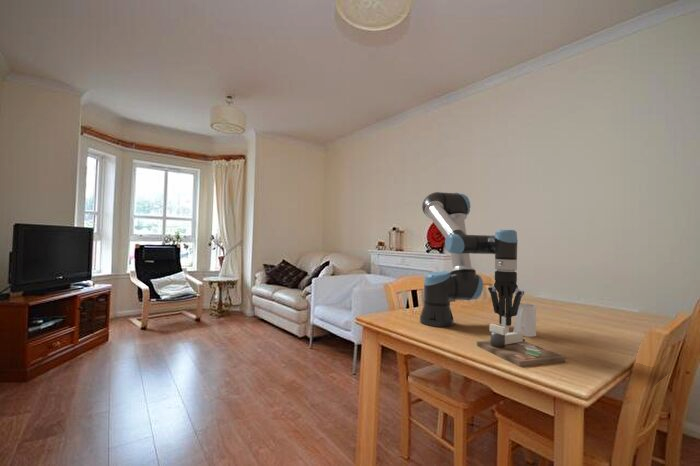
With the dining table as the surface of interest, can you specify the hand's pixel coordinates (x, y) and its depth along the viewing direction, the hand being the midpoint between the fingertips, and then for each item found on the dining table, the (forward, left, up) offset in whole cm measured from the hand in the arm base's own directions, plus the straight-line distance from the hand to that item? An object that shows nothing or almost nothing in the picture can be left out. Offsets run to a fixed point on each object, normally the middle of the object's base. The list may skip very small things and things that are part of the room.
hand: (505, 333), depth 121 cm
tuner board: (+10, -3, -4) cm, 11 cm away
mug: (-8, +17, -4) cm, 19 cm away
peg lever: (+5, -3, -2) cm, 6 cm away
